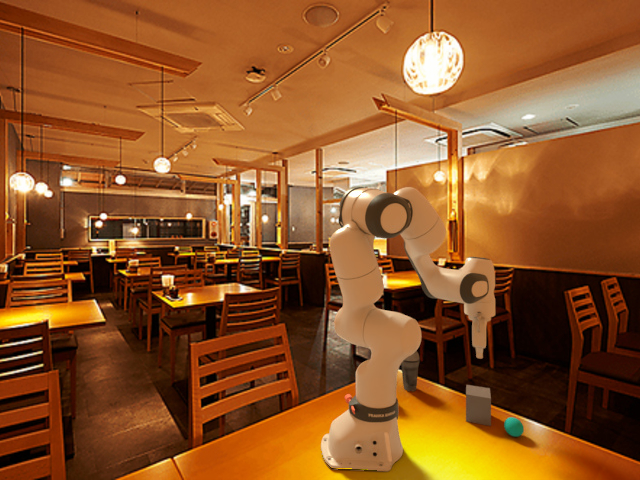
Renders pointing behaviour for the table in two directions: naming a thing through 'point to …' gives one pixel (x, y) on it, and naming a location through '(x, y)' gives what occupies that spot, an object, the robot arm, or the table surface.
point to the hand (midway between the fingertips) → (479, 351)
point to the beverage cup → (410, 371)
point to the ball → (513, 427)
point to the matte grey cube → (478, 405)
